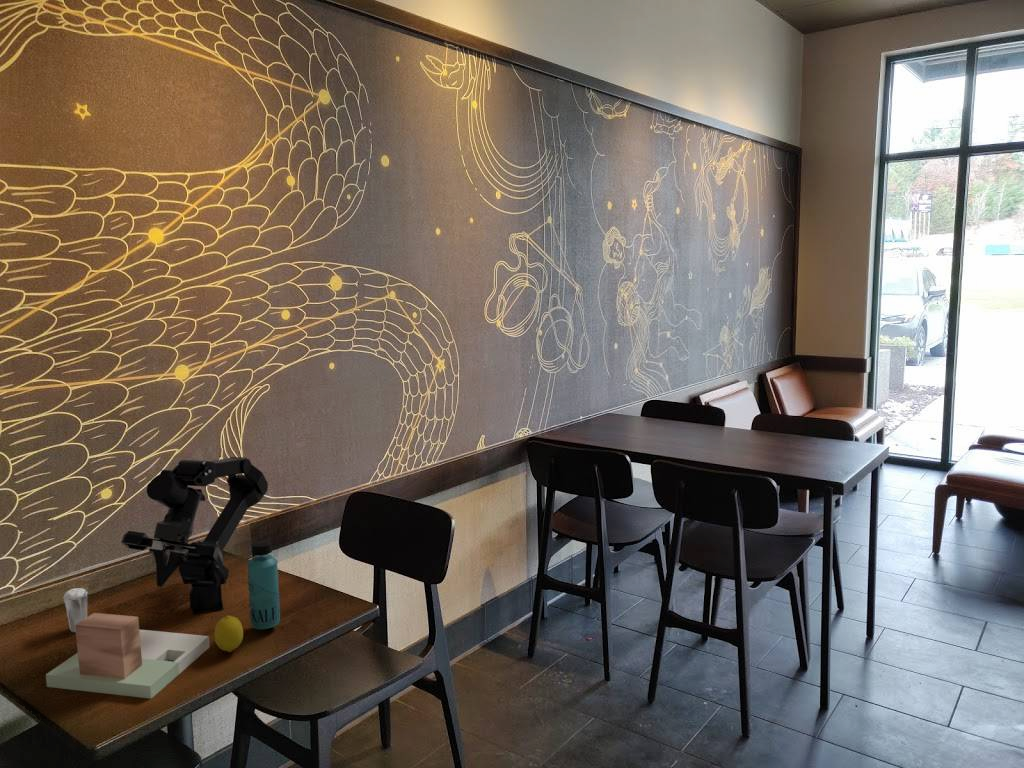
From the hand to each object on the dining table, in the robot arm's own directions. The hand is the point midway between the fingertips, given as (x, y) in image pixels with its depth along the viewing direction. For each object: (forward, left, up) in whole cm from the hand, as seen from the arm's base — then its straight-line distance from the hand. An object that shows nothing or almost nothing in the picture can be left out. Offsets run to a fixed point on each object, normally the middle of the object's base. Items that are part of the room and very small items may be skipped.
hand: (159, 586), depth 158 cm
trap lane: (+6, +8, -12) cm, 16 cm away
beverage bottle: (-20, +3, -13) cm, 24 cm away
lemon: (-12, +10, -13) cm, 21 cm away
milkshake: (+17, -14, -13) cm, 25 cm away
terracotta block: (+9, +13, -10) cm, 19 cm away
